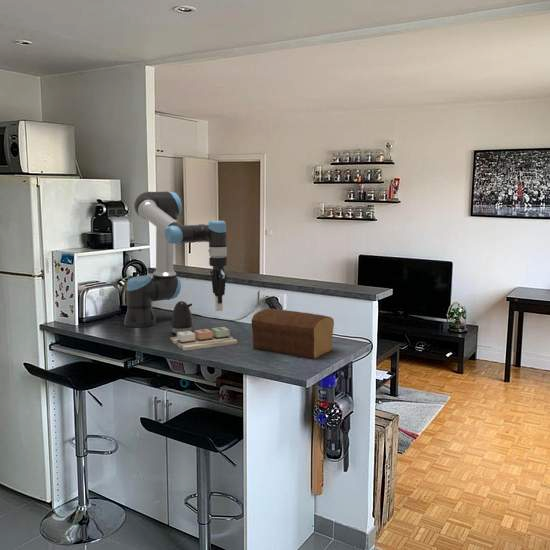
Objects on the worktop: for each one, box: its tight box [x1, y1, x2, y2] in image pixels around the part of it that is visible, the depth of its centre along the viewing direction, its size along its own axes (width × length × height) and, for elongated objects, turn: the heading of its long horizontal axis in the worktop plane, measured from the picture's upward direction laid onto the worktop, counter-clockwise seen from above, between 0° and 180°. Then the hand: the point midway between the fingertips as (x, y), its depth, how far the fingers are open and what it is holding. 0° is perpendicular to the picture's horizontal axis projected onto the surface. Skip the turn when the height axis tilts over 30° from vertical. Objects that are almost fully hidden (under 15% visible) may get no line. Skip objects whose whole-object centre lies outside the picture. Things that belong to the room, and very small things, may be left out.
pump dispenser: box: [170, 300, 194, 335], centre depth 265 cm, size 10×10×15 cm
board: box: [169, 335, 238, 351], centre depth 251 cm, size 18×24×2 cm
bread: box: [251, 308, 335, 359], centre depth 239 cm, size 18×30×16 cm, turn 57°
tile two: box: [194, 328, 213, 339], centre depth 250 cm, size 6×6×3 cm
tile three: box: [211, 326, 231, 337], centre depth 254 cm, size 6×6×3 cm
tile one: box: [176, 330, 195, 342], centre depth 247 cm, size 6×6×3 cm
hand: (219, 310), depth 252 cm, fingers closed
